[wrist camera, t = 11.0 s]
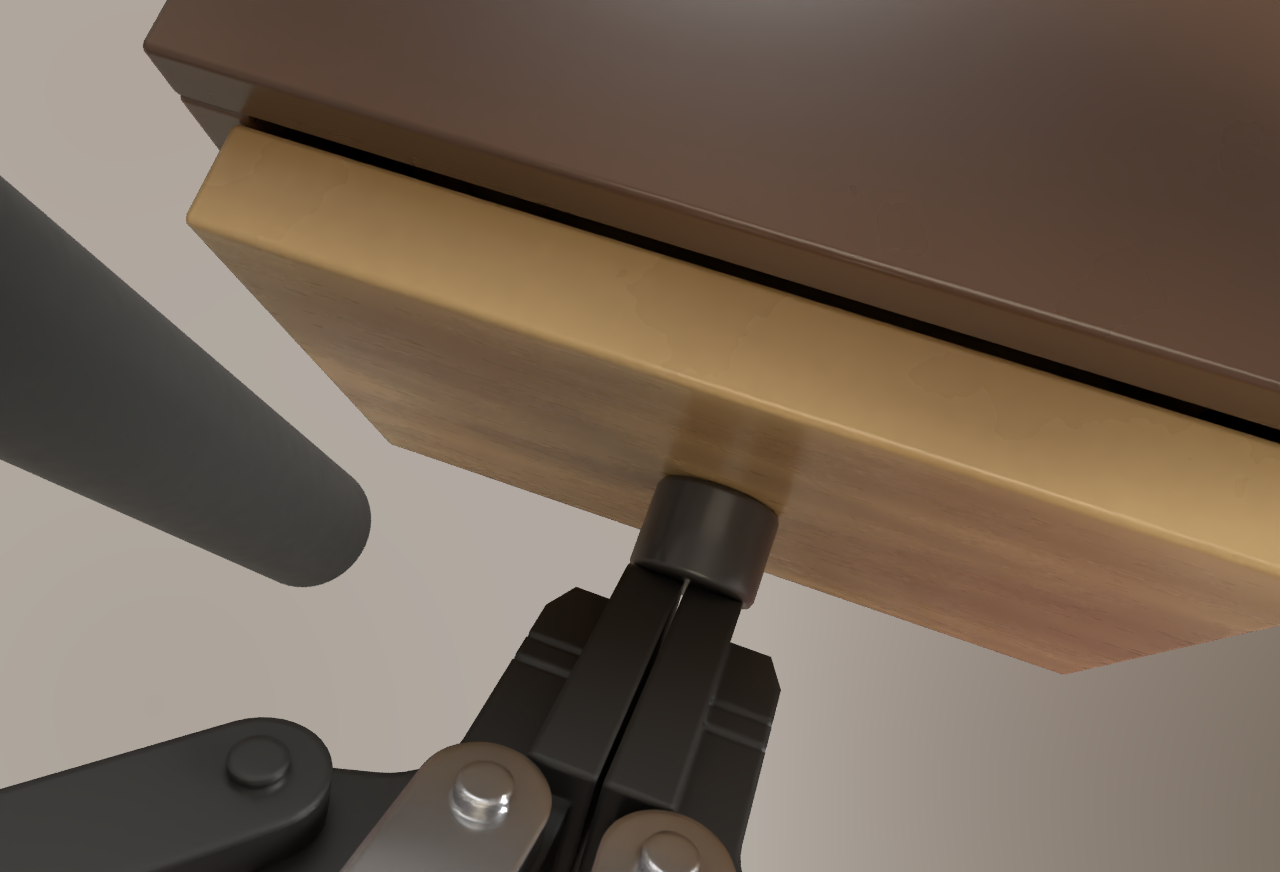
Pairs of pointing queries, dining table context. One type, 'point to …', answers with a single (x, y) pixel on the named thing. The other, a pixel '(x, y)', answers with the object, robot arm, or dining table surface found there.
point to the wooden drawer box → (836, 149)
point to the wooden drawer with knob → (756, 415)
